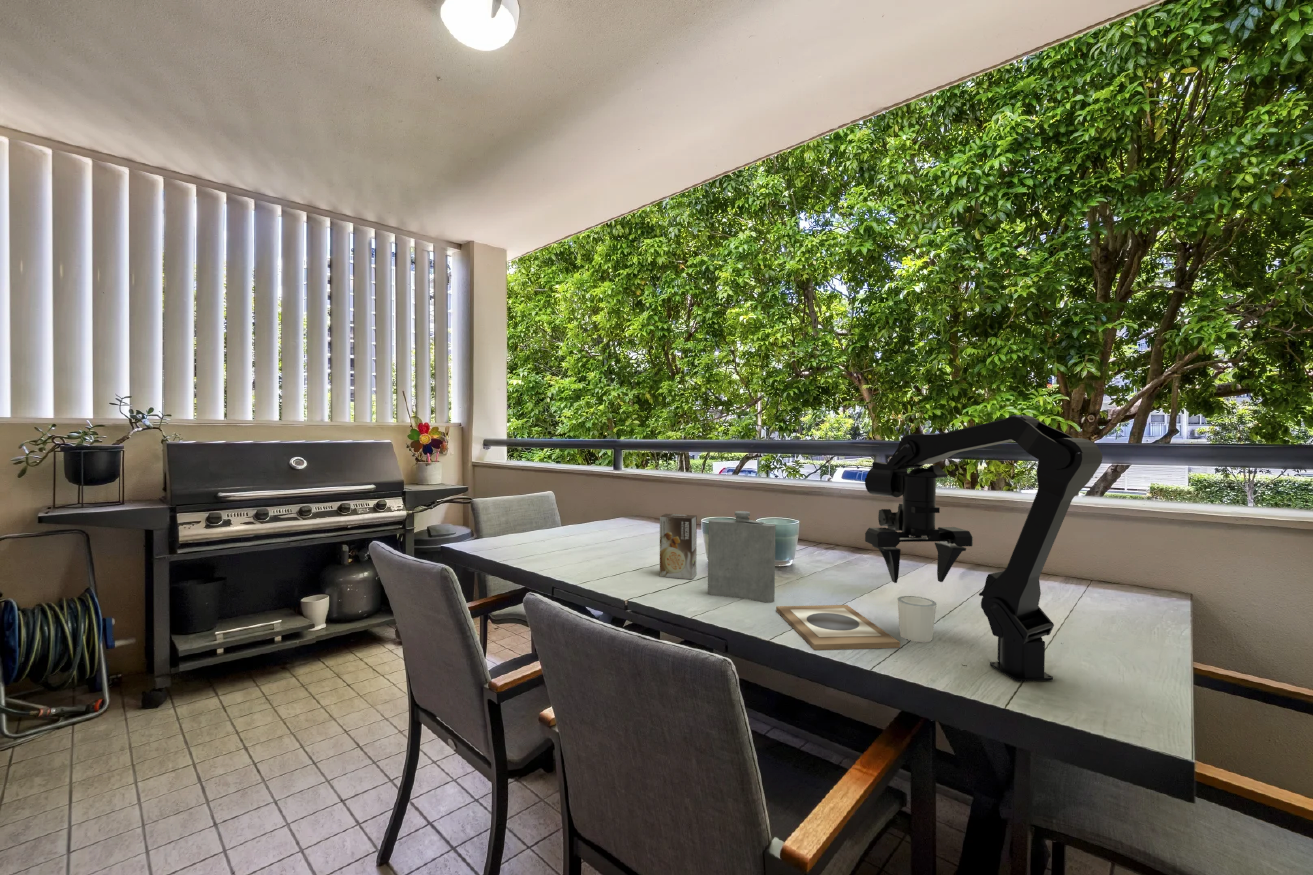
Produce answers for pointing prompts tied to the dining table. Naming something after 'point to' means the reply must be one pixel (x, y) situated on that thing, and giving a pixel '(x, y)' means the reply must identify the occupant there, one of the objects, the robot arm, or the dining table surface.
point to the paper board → (835, 627)
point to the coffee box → (678, 546)
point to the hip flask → (741, 558)
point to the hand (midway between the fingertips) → (917, 582)
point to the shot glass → (916, 618)
